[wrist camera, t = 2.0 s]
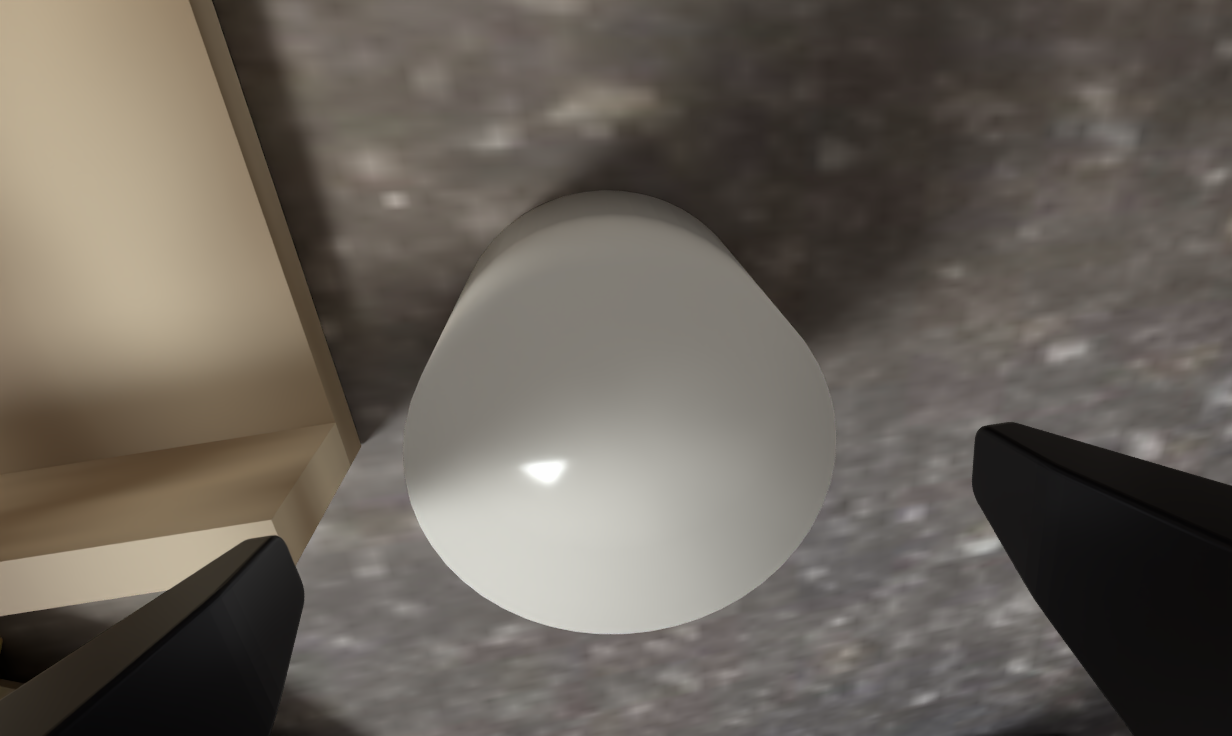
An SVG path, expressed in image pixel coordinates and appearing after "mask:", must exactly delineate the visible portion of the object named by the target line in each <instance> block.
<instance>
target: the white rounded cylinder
mask: <svg viewBox="0 0 1232 736" xmlns="http://www.w3.org/2000/svg"><path fill="white" fill-rule="evenodd" d="M836 439H837V433H836V423H835V413H834V408H833V404H832V400H831V396H830V392H829V388H828V385H827V383H826V380H825V378H824V376H823V373H822V371H821V369H820V366H819V364H818V362H817V360H816V359H815V357H814V356H813V354H812V352H811V351H810V349H809V347H808V346H807V344H806V343H805V341H804V340H803V338H802V337H801V336H800V335H799V334H798V333H797V331H796V330H795V329H794V328H793V327H792V325H791V324H790V323H789V322H788V321H787V319H786V318H785V317H784V316H783V315H782V313H781V312H780V311H779V310H778V309H777V307H776V306H775V305H774V304H773V303H772V301H771V300H770V299H769V298H768V297H767V295H766V294H765V293H764V292H763V291H762V289H761V288H760V287H759V286H758V285H757V283H756V282H755V281H754V280H753V279H752V278H751V276H750V275H749V274H748V273H747V272H746V270H745V269H744V268H743V267H742V266H741V264H740V263H739V262H738V261H737V260H736V258H735V257H734V256H733V255H732V254H731V252H730V251H729V250H728V249H727V248H726V246H725V245H724V244H723V243H722V242H721V241H720V239H719V238H718V237H717V236H716V235H715V234H714V233H713V232H712V231H711V230H710V229H709V228H708V227H706V226H705V225H704V224H703V223H702V222H701V221H699V220H698V219H696V218H695V217H693V216H692V215H690V214H689V213H687V212H686V211H684V210H683V209H681V208H679V207H676V206H674V205H672V204H670V203H668V202H666V201H663V200H660V199H657V198H654V197H651V196H648V195H644V194H639V193H633V192H627V191H612V190H600V191H589V192H581V193H577V194H572V195H568V196H564V197H561V198H558V199H555V200H552V201H550V202H547V203H544V204H542V205H540V206H538V207H537V208H535V209H533V210H531V211H529V212H527V213H525V214H524V215H522V216H521V217H520V218H518V219H517V220H516V221H514V222H513V223H511V224H510V225H509V226H508V227H506V228H505V229H504V230H503V231H502V232H501V233H500V234H499V235H498V236H497V237H496V238H495V239H494V240H493V241H492V243H491V244H490V245H489V246H488V248H487V249H486V250H485V251H484V253H483V254H482V255H481V257H480V259H479V260H478V262H477V264H476V265H475V267H474V269H473V271H472V272H471V274H470V276H469V278H468V281H467V283H466V285H465V287H464V289H463V291H462V293H461V295H460V297H459V299H458V301H457V303H456V305H455V307H454V309H453V311H452V313H451V315H450V318H449V320H448V322H447V324H446V326H445V328H444V330H443V332H442V334H441V336H440V338H439V340H438V342H437V344H436V346H435V348H434V350H433V352H432V355H431V357H430V359H429V361H428V363H427V365H426V367H425V369H424V371H423V373H422V375H421V377H420V380H419V382H418V385H417V387H416V390H415V392H414V395H413V397H412V400H411V402H410V406H409V411H408V415H407V419H406V424H405V429H404V442H403V463H404V476H405V481H406V486H407V490H408V494H409V499H410V502H411V505H412V507H413V510H414V512H415V515H416V517H417V520H418V522H419V525H420V526H421V528H422V530H423V532H424V533H425V535H426V537H427V539H428V540H429V542H430V544H431V545H432V547H433V548H434V549H435V551H436V552H437V553H438V554H439V556H440V557H441V558H442V560H443V561H444V562H445V564H446V565H447V566H448V567H449V568H450V569H451V570H452V571H453V572H454V573H455V574H456V575H457V576H458V577H459V578H460V579H461V580H462V581H464V582H465V583H466V584H467V585H469V586H470V587H471V588H473V589H474V590H475V591H477V592H478V593H479V594H480V595H482V596H483V597H485V598H487V599H488V600H490V601H492V602H493V603H495V604H497V605H498V606H500V607H502V608H503V609H506V610H508V611H510V612H512V613H514V614H517V615H519V616H521V617H523V618H526V619H528V620H532V621H535V622H538V623H541V624H544V625H547V626H550V627H555V628H560V629H565V630H570V631H575V632H585V633H595V634H629V633H639V632H649V631H654V630H659V629H664V628H669V627H674V626H677V625H680V624H684V623H687V622H690V621H693V620H696V619H699V618H702V617H704V616H706V615H709V614H711V613H713V612H716V611H718V610H720V609H722V608H724V607H726V606H728V605H729V604H731V603H733V602H735V601H737V600H738V599H740V598H742V597H744V596H745V595H746V594H748V593H749V592H751V591H752V590H753V589H755V588H756V587H758V586H759V585H760V584H762V583H763V582H764V581H765V580H767V579H768V578H769V577H770V576H771V575H772V574H773V573H774V572H776V571H777V570H778V569H779V568H780V567H781V566H782V565H783V564H784V563H785V562H786V561H787V559H788V558H789V557H790V556H791V555H792V554H793V553H794V551H795V550H796V549H797V548H798V547H799V545H800V544H801V542H802V541H803V539H804V538H805V537H806V535H807V534H808V532H809V531H810V529H811V528H812V526H813V524H814V522H815V520H816V518H817V516H818V514H819V512H820V510H821V508H822V506H823V504H824V501H825V498H826V495H827V492H828V489H829V487H830V484H831V479H832V474H833V469H834V464H835V458H836Z"/></svg>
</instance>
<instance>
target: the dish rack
mask: <svg viewBox="0 0 1232 736" xmlns="http://www.w3.org/2000/svg"><path fill="white" fill-rule="evenodd" d="M360 448H361V443H360V440H359V437H358V434H357V431H356V428H355V425H354V422H353V419H352V416H351V413H350V410H349V407H348V404H347V401H346V398H345V395H344V392H343V389H342V386H341V384H340V381H339V378H338V375H337V372H336V369H335V366H334V363H333V360H332V357H331V354H330V351H329V348H328V345H327V342H326V339H325V336H324V333H323V330H322V327H321V324H320V321H319V318H318V315H317V312H316V309H315V306H314V303H313V300H312V297H311V294H310V291H309V288H308V285H307V282H306V279H305V276H304V273H303V270H302V267H301V264H300V261H299V258H298V255H297V252H296V250H295V247H294V244H293V241H292V238H291V235H290V232H289V229H288V226H287V223H286V220H285V217H284V214H283V211H282V208H281V205H280V202H279V199H278V196H277V193H276V190H275V187H274V184H273V181H272V178H271V175H270V172H269V169H268V166H267V163H266V160H265V157H264V154H263V151H262V148H261V145H260V142H259V139H258V136H257V133H256V130H255V127H254V124H253V121H252V118H251V116H250V113H249V110H248V107H247V104H246V101H245V98H244V95H243V92H242V89H241V86H240V83H239V80H238V77H237V74H236V71H235V68H234V65H233V62H232V59H231V56H230V53H229V50H228V47H227V44H226V41H225V38H224V35H223V32H222V29H221V26H220V23H219V20H218V17H217V14H216V11H215V8H214V5H213V2H212V0H0V616H4V615H11V614H17V613H24V612H30V611H37V610H43V609H50V608H56V607H63V606H69V605H76V604H82V603H88V602H95V601H101V600H108V599H114V598H121V597H127V596H134V595H140V594H147V593H153V592H160V591H166V590H169V589H171V588H172V587H174V586H175V585H177V584H178V583H180V582H181V581H183V580H184V579H186V578H187V577H189V576H190V575H192V574H194V573H195V572H197V571H198V570H200V569H201V568H203V567H204V566H206V565H207V564H209V563H210V562H212V561H213V560H215V559H217V558H218V557H220V556H221V555H223V554H224V553H226V552H227V551H229V550H230V549H232V548H233V547H235V546H236V545H238V544H239V543H241V542H243V541H244V540H247V539H251V538H257V537H264V536H270V535H277V536H279V537H281V538H282V539H283V540H284V541H285V543H286V545H287V547H288V549H289V552H290V554H291V556H292V559H293V561H294V564H295V566H296V564H297V562H298V560H299V558H300V557H301V555H302V553H303V551H304V549H305V548H306V546H307V544H308V542H309V540H310V538H311V537H312V535H313V533H314V531H315V529H316V528H317V526H318V524H319V522H320V520H321V519H322V517H323V515H324V513H325V511H326V509H327V508H328V506H329V504H330V502H331V500H332V499H333V497H334V495H335V493H336V491H337V490H338V488H339V486H340V484H341V482H342V480H343V479H344V477H345V475H346V473H347V471H348V470H349V468H350V466H351V464H352V462H353V461H354V459H355V457H356V455H357V453H358V452H359V450H360Z"/></svg>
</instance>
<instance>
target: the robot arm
mask: <svg viewBox="0 0 1232 736" xmlns="http://www.w3.org/2000/svg"><path fill="white" fill-rule="evenodd" d="M972 487H973V492H974V495H975V498H976V500H977V502H978V504H979V506H980V507H981V509H982V511H983V513H984V514H985V516H986V518H987V520H988V521H989V523H990V525H991V526H992V528H993V530H994V532H995V533H996V535H997V537H998V538H999V540H1000V542H1001V544H1002V545H1003V547H1004V549H1005V551H1006V552H1007V554H1008V556H1009V557H1010V559H1011V561H1012V563H1013V564H1014V566H1015V568H1016V570H1017V571H1018V573H1019V575H1020V576H1021V578H1022V580H1023V582H1024V583H1025V585H1026V587H1027V588H1028V590H1029V591H1030V593H1031V595H1032V596H1033V598H1034V599H1035V601H1036V602H1037V604H1038V605H1039V607H1040V608H1041V609H1042V611H1043V612H1044V614H1045V615H1046V617H1047V618H1048V619H1049V621H1050V622H1051V623H1052V625H1053V626H1054V627H1055V629H1056V630H1057V632H1058V633H1059V634H1060V636H1061V637H1062V638H1063V640H1064V641H1065V642H1066V644H1067V645H1068V647H1069V648H1070V649H1071V651H1072V652H1073V653H1074V655H1075V656H1076V657H1077V659H1078V660H1079V662H1080V663H1081V664H1082V666H1083V667H1084V668H1085V670H1086V671H1087V672H1088V674H1089V675H1090V677H1091V678H1092V679H1093V681H1094V682H1095V683H1096V685H1097V686H1098V687H1099V689H1100V690H1101V692H1102V693H1103V694H1104V696H1105V697H1106V698H1107V700H1108V701H1109V702H1110V704H1111V705H1112V707H1113V708H1114V709H1115V711H1116V712H1117V713H1118V715H1119V716H1120V717H1121V719H1122V720H1123V722H1124V723H1125V724H1126V726H1127V727H1128V728H1129V730H1130V731H1131V732H1132V734H1133V735H1134V736H1232V486H1231V485H1227V484H1224V483H1220V482H1217V481H1214V480H1210V479H1207V478H1203V477H1200V476H1196V475H1193V474H1190V473H1186V472H1183V471H1179V470H1176V469H1172V468H1169V467H1166V466H1162V465H1159V464H1155V463H1152V462H1149V461H1145V460H1142V459H1138V458H1135V457H1131V456H1128V455H1125V454H1121V453H1118V452H1114V451H1111V450H1107V449H1104V448H1101V447H1097V446H1094V445H1090V444H1087V443H1083V442H1080V441H1077V440H1073V439H1070V438H1066V437H1063V436H1060V435H1056V434H1053V433H1049V432H1046V431H1042V430H1039V429H1036V428H1032V427H1029V426H1025V425H1022V424H1018V423H1014V422H1006V423H1000V424H993V425H987V426H983V427H981V428H980V429H979V430H978V431H977V433H976V436H975V444H974V459H973V473H972ZM303 605H304V588H303V584H302V581H301V578H300V576H299V574H298V571H297V569H296V566H295V564H294V561H293V559H292V556H291V554H290V552H289V549H288V547H287V545H286V543H285V541H284V540H283V539H282V538H281V537H279V536H277V535H270V536H264V537H257V538H251V539H247V540H244V541H243V542H241V543H239V544H238V545H236V546H235V547H233V548H232V549H230V550H229V551H227V552H226V553H224V554H223V555H221V556H220V557H218V558H217V559H215V560H213V561H212V562H210V563H209V564H207V565H206V566H204V567H203V568H201V569H200V570H198V571H197V572H195V573H194V574H192V575H190V576H189V577H187V578H186V579H184V580H183V581H181V582H180V583H178V584H177V585H175V586H174V587H172V588H171V589H169V590H168V591H166V592H164V593H163V594H161V595H160V596H158V597H157V598H155V599H154V600H152V601H151V602H149V603H148V604H146V605H145V606H143V607H142V608H140V609H138V610H137V611H135V612H134V613H132V614H131V615H129V616H128V617H126V618H125V619H123V620H122V621H120V622H119V623H117V624H116V625H114V626H112V627H111V628H109V629H108V630H106V631H105V632H103V633H102V634H100V635H99V636H97V637H96V638H94V639H93V640H91V641H89V642H88V643H86V644H85V645H83V646H82V647H80V648H79V649H77V650H76V651H74V652H73V653H71V654H70V655H68V656H67V657H65V658H63V659H62V660H60V661H59V662H57V663H56V664H54V665H53V666H51V667H50V668H48V669H47V670H45V671H44V672H42V673H41V674H39V675H37V676H36V677H34V678H33V679H31V680H30V681H28V682H27V683H25V684H24V685H22V686H21V687H19V688H18V689H16V690H15V691H13V692H11V693H10V694H8V695H7V696H5V697H4V698H2V699H1V700H0V736H270V733H271V730H272V727H273V724H274V721H275V717H276V714H277V711H278V707H279V704H280V700H281V696H282V692H283V688H284V684H285V680H286V676H287V672H288V668H289V663H290V659H291V655H292V651H293V647H294V643H295V638H296V634H297V630H298V626H299V622H300V618H301V614H302V609H303Z"/></svg>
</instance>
